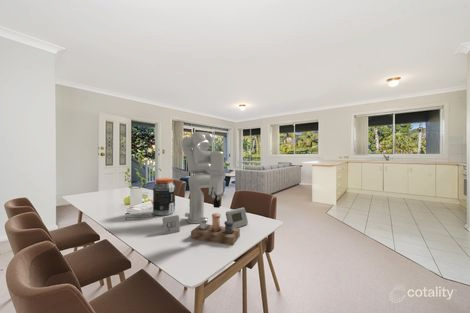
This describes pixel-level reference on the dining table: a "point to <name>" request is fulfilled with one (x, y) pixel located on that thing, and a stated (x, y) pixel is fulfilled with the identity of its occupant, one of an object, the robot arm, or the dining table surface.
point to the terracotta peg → (216, 222)
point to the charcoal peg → (228, 227)
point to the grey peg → (203, 223)
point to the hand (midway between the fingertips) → (216, 207)
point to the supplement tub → (164, 197)
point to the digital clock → (237, 217)
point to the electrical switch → (171, 224)
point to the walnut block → (215, 235)
